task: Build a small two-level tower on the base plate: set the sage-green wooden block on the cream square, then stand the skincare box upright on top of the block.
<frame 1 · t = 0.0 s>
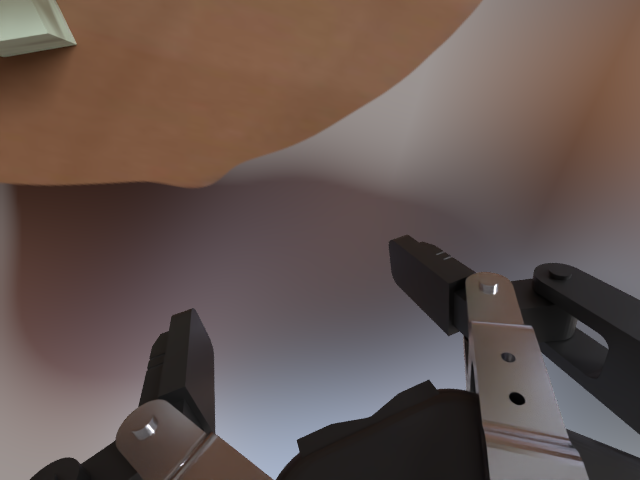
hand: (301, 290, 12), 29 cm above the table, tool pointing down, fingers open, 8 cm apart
green block: (21, 11, 27), on the table
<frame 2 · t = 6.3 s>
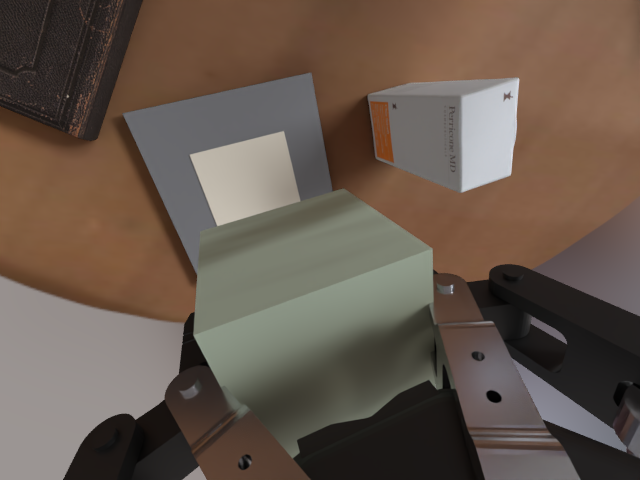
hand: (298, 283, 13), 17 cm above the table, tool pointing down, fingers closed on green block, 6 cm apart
skincare box: (388, 123, 29), on the table
green block: (292, 269, 14), point 16 cm above the table, touching gripper
base plate: (250, 184, 27), on the table
when the fingers open (4 cm above the table, at t = 9.1 s): green block drops 1 cm, resting on base plate.
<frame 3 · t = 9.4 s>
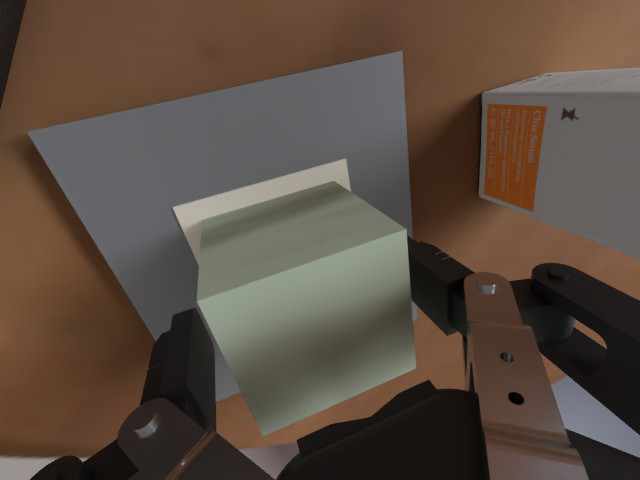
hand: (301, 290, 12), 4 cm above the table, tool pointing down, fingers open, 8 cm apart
skincare box: (504, 140, 18), on the table
green block: (287, 256, 15), point 1 cm above the table, touching base plate
base plate: (281, 247, 16), on the table
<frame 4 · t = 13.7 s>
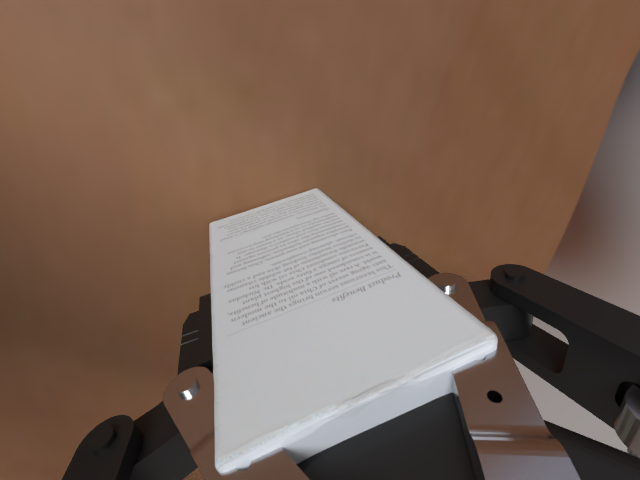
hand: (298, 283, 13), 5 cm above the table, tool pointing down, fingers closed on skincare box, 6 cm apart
skincare box: (276, 236, 17), on the table, touching gripper
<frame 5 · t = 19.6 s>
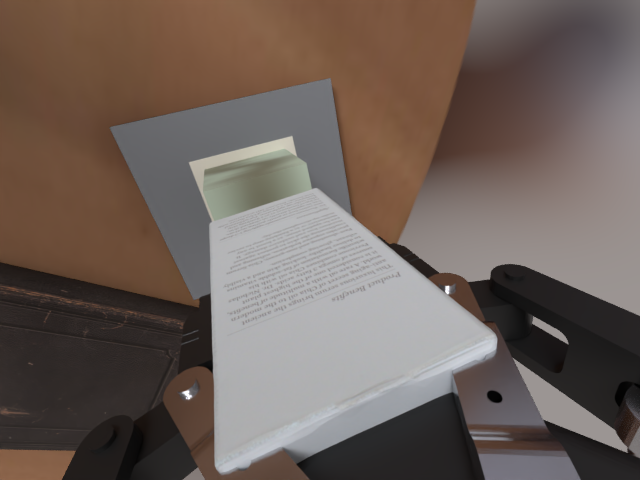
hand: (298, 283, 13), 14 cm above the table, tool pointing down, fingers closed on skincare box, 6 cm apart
skincare box: (276, 235, 17), point 9 cm above the table, touching gripper
green block: (257, 196, 24), point 1 cm above the table, touching base plate
base plate: (255, 194, 25), on the table
hardcover book: (43, 352, 26), on the table
when the fingers open (13 cm above the table, at t = 20.5 s): skincare box drops 1 cm, resting on green block.
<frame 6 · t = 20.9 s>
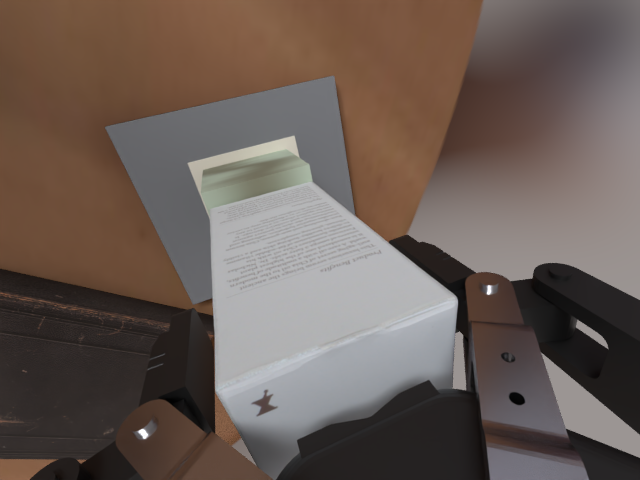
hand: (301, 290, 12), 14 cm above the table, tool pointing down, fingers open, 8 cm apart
skincare box: (272, 225, 18), point 7 cm above the table, touching green block
green block: (257, 198, 23), point 1 cm above the table, touching base plate, skincare box
base plate: (256, 195, 24), on the table
hardcover book: (38, 358, 25), on the table
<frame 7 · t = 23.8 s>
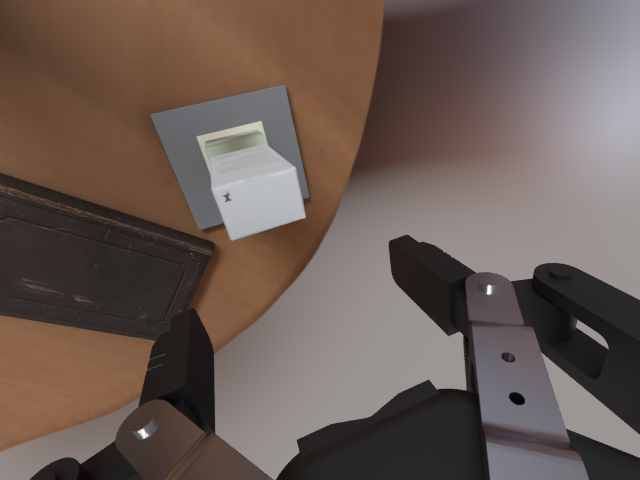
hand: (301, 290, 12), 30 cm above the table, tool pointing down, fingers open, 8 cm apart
skincare box: (244, 169, 32), point 7 cm above the table, touching green block
green block: (239, 160, 37), point 1 cm above the table, touching base plate, skincare box
base plate: (239, 159, 38), on the table
hardcover book: (99, 264, 39), on the table
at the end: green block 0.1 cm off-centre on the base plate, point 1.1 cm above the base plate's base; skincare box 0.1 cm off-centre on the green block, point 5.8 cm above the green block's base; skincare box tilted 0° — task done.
